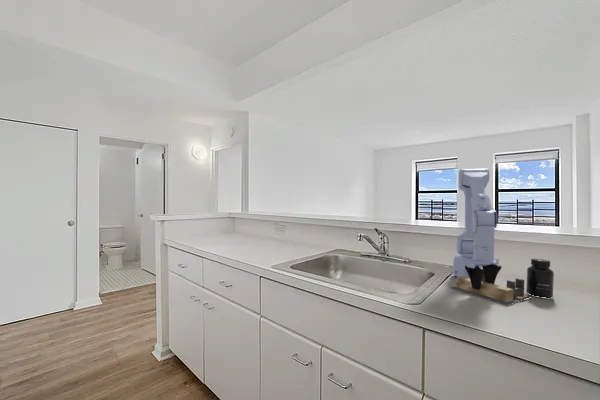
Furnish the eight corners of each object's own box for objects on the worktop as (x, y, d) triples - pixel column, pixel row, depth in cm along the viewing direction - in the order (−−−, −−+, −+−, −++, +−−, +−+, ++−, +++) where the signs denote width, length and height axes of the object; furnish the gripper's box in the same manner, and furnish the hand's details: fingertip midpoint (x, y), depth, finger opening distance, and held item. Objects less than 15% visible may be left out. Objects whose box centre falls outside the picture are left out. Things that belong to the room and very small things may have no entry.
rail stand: (463, 285, 104) (463, 270, 104) (474, 283, 107) (475, 268, 107) (520, 301, 88) (520, 283, 88) (531, 298, 91) (531, 281, 91)
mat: (450, 288, 100) (450, 287, 100) (462, 285, 104) (462, 284, 104) (507, 305, 85) (507, 304, 85) (519, 301, 88) (519, 300, 88)
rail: (456, 287, 100) (456, 277, 100) (462, 286, 102) (462, 276, 102) (507, 302, 86) (507, 290, 86) (513, 300, 88) (513, 289, 88)
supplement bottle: (543, 300, 90) (543, 262, 90) (521, 293, 96) (521, 258, 96) (558, 298, 92) (559, 261, 92) (536, 292, 98) (536, 257, 98)
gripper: (483, 249, 87) (482, 294, 87) (508, 247, 94) (508, 288, 94) (461, 246, 93) (460, 287, 93) (486, 244, 100) (485, 282, 100)
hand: (482, 287), depth 94 cm, fingers open, 7 cm apart
